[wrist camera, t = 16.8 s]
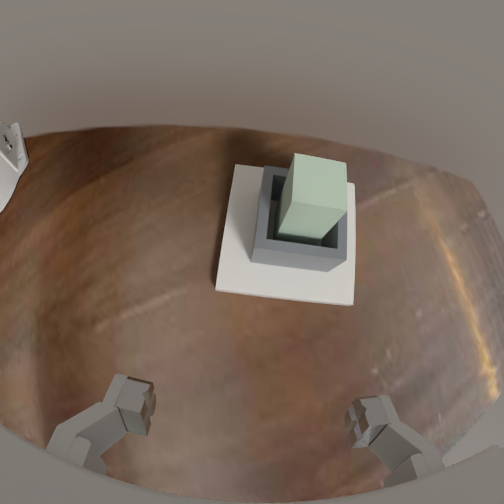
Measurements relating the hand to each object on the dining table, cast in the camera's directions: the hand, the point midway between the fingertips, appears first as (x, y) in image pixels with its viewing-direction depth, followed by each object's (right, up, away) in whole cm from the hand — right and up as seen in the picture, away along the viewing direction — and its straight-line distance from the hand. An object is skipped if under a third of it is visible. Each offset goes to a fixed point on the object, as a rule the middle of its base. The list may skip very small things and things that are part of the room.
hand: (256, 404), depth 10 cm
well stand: (+5, +8, +25) cm, 26 cm away
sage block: (+5, +9, +23) cm, 25 cm away
